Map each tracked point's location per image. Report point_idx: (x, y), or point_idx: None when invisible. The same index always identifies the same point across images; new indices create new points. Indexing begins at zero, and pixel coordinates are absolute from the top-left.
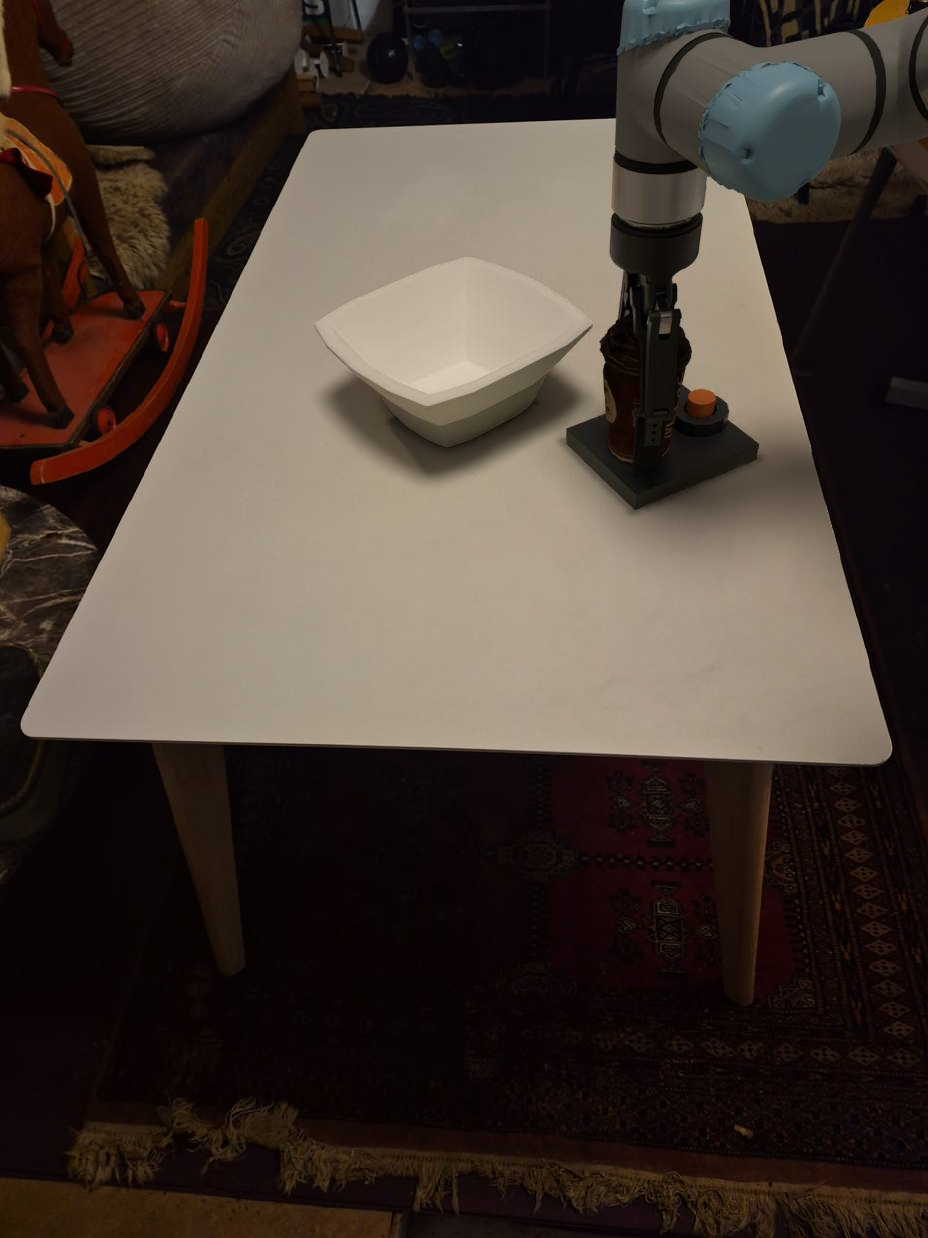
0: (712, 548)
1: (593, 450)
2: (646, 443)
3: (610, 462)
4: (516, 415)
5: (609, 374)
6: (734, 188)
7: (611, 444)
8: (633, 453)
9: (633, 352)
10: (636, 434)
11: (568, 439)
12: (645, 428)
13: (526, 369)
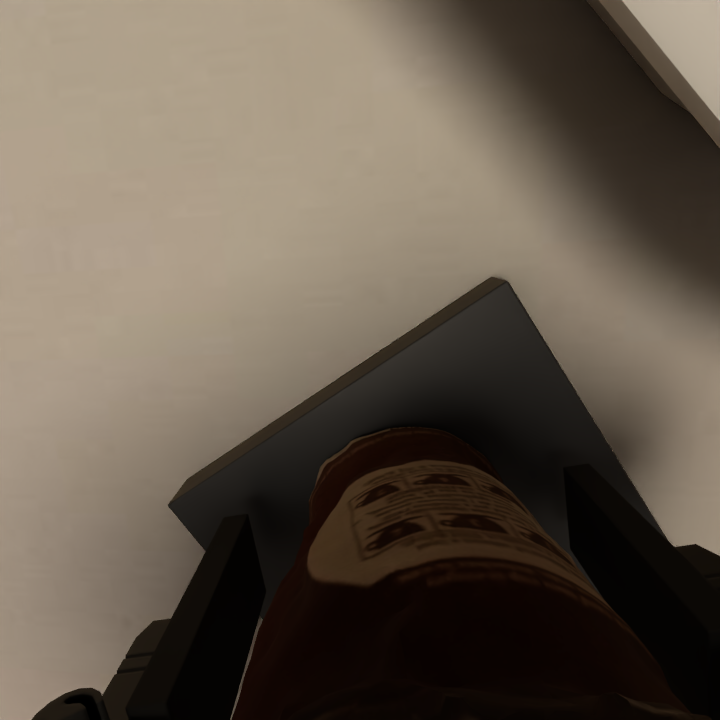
0: (71, 644)
1: (379, 378)
2: (139, 639)
3: (315, 432)
4: (653, 82)
5: (378, 625)
6: None
7: (372, 444)
8: (224, 543)
9: None
10: (175, 613)
11: (483, 286)
12: (131, 682)
13: (614, 19)
